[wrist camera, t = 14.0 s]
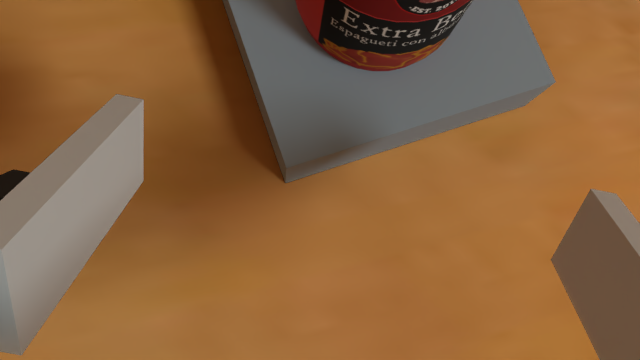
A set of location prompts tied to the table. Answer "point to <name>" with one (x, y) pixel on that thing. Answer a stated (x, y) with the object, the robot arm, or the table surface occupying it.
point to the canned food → (381, 29)
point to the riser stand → (380, 83)
